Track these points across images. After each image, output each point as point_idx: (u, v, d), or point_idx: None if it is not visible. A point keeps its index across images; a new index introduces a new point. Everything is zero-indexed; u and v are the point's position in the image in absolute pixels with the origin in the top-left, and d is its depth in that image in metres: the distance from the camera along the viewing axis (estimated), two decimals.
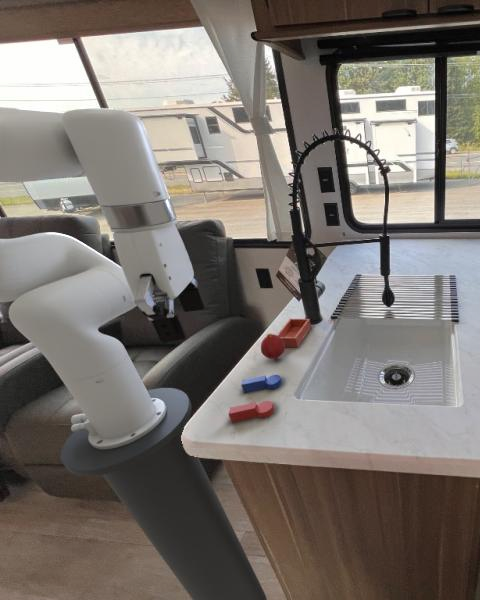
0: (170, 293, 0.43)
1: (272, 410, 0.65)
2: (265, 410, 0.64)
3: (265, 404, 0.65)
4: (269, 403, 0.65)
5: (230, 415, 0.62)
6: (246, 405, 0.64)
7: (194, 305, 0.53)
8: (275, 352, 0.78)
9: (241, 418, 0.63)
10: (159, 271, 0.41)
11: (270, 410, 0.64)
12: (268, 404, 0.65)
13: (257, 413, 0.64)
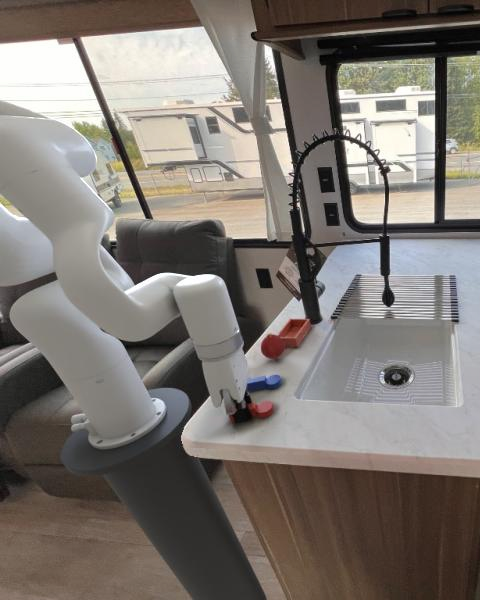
0: (239, 399, 0.57)
1: (272, 410, 0.65)
2: (265, 410, 0.64)
3: (265, 404, 0.65)
4: (269, 403, 0.65)
5: (230, 415, 0.62)
6: None
7: None
8: (275, 352, 0.78)
9: None
10: (233, 386, 0.55)
11: (270, 410, 0.64)
12: (268, 404, 0.65)
13: (257, 413, 0.64)
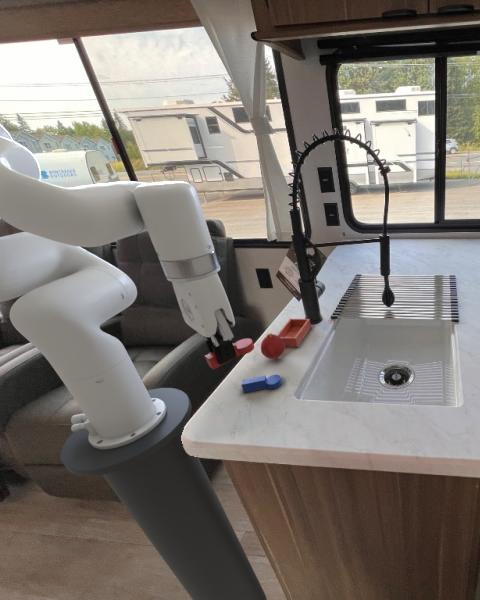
0: (234, 321, 0.53)
1: (253, 344, 0.61)
2: (248, 344, 0.60)
3: (242, 341, 0.60)
4: (246, 339, 0.61)
5: (211, 360, 0.55)
6: None
7: None
8: (275, 352, 0.78)
9: None
10: (227, 305, 0.51)
11: (252, 343, 0.60)
12: (245, 340, 0.61)
13: (240, 350, 0.59)
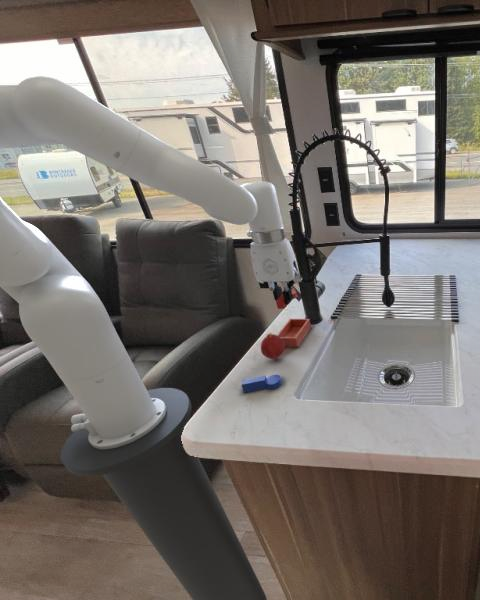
0: None
1: None
2: (294, 291, 0.88)
3: None
4: None
5: (283, 302, 0.82)
6: (282, 295, 0.84)
7: None
8: (275, 352, 0.78)
9: None
10: (295, 259, 0.80)
11: None
12: None
13: None
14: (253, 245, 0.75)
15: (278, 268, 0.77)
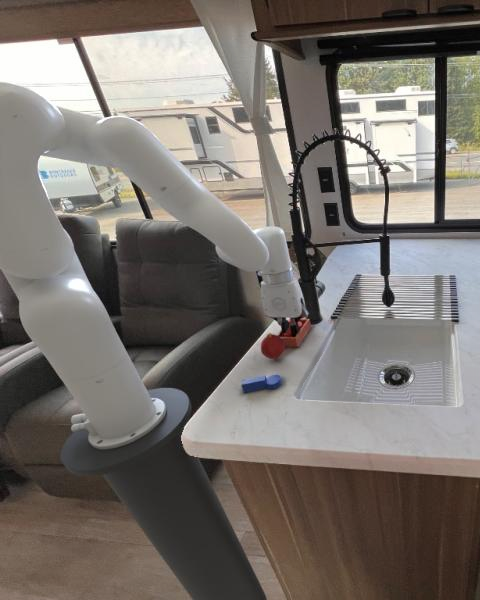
0: None
1: None
2: (300, 323, 0.92)
3: None
4: None
5: (290, 335, 0.86)
6: (289, 328, 0.89)
7: None
8: (275, 352, 0.78)
9: None
10: (302, 295, 0.85)
11: None
12: None
13: None
14: (263, 285, 0.80)
15: (286, 305, 0.82)
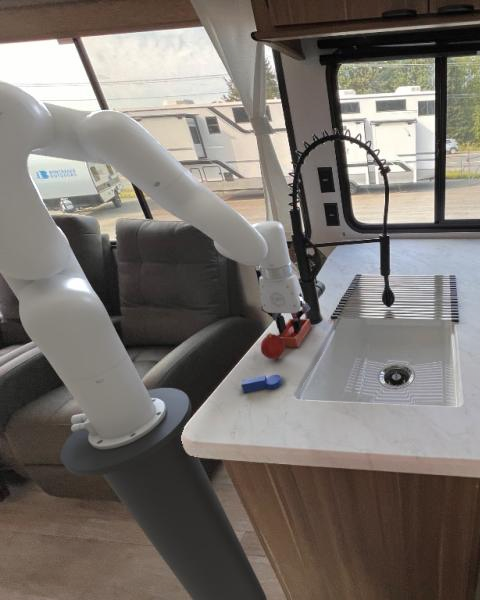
0: None
1: None
2: None
3: None
4: None
5: None
6: (289, 330, 0.89)
7: (284, 326, 0.88)
8: (275, 352, 0.78)
9: None
10: (301, 291, 0.84)
11: None
12: None
13: None
14: (262, 280, 0.79)
15: (285, 301, 0.81)
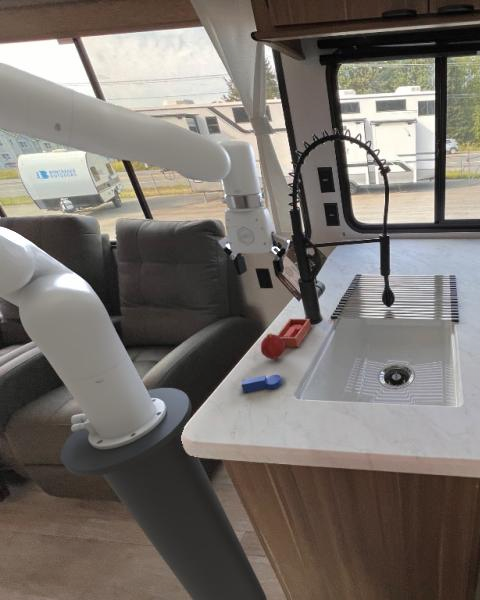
0: None
1: None
2: (300, 326, 0.92)
3: (294, 326, 0.92)
4: (295, 325, 0.93)
5: None
6: (289, 330, 0.89)
7: (243, 268, 0.78)
8: (275, 352, 0.78)
9: None
10: (274, 230, 0.74)
11: None
12: (295, 325, 0.93)
13: (298, 330, 0.91)
14: (227, 211, 0.69)
15: (254, 238, 0.71)
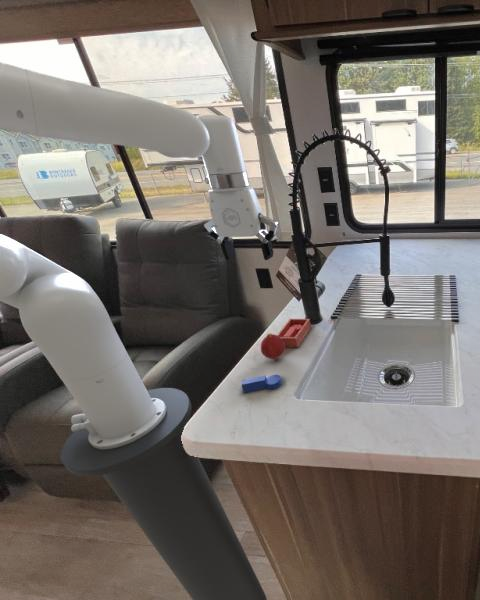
0: None
1: None
2: (300, 326, 0.92)
3: (294, 326, 0.92)
4: (295, 325, 0.93)
5: None
6: (289, 330, 0.89)
7: (232, 253, 0.75)
8: (275, 352, 0.78)
9: None
10: (261, 211, 0.70)
11: None
12: (295, 325, 0.93)
13: (298, 330, 0.91)
14: (211, 192, 0.66)
15: (240, 220, 0.67)
